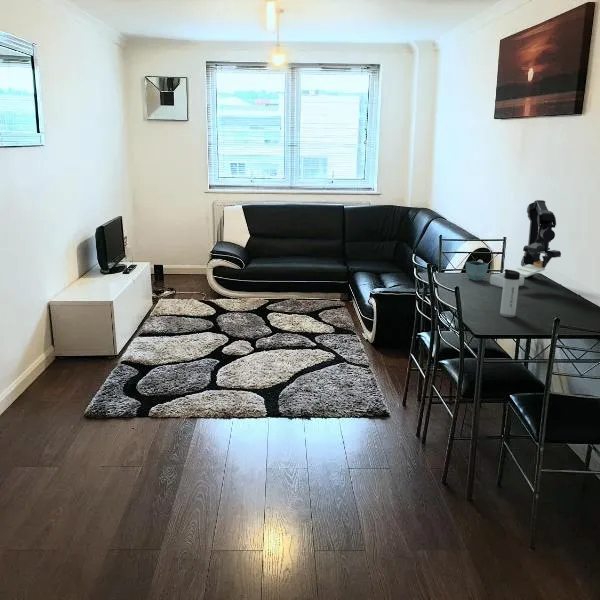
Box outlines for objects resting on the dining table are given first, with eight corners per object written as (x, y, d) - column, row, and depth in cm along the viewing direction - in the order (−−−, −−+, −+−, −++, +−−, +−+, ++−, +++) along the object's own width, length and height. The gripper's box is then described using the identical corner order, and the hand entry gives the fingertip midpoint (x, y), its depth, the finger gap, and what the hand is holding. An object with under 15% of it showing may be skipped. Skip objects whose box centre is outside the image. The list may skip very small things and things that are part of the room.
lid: (534, 263, 317) (534, 259, 316) (550, 267, 309) (550, 262, 308) (510, 273, 309) (510, 268, 308) (526, 277, 301) (526, 272, 300)
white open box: (508, 281, 328) (509, 272, 327) (523, 285, 320) (524, 276, 319) (489, 284, 321) (490, 274, 320) (504, 288, 313) (505, 279, 312)
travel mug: (502, 312, 272) (507, 268, 267) (517, 315, 268) (522, 270, 263) (496, 315, 268) (501, 270, 262) (511, 318, 263) (517, 273, 258)
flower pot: (463, 278, 333) (465, 262, 330) (476, 277, 336) (477, 261, 334) (474, 282, 325) (476, 265, 323) (487, 280, 329) (489, 264, 326)
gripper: (517, 235, 312) (514, 265, 316) (548, 242, 296) (544, 273, 301) (532, 234, 317) (528, 263, 322) (563, 240, 302) (559, 271, 306)
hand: (539, 267), depth 312 cm, fingers closed on lid, 4 cm apart
